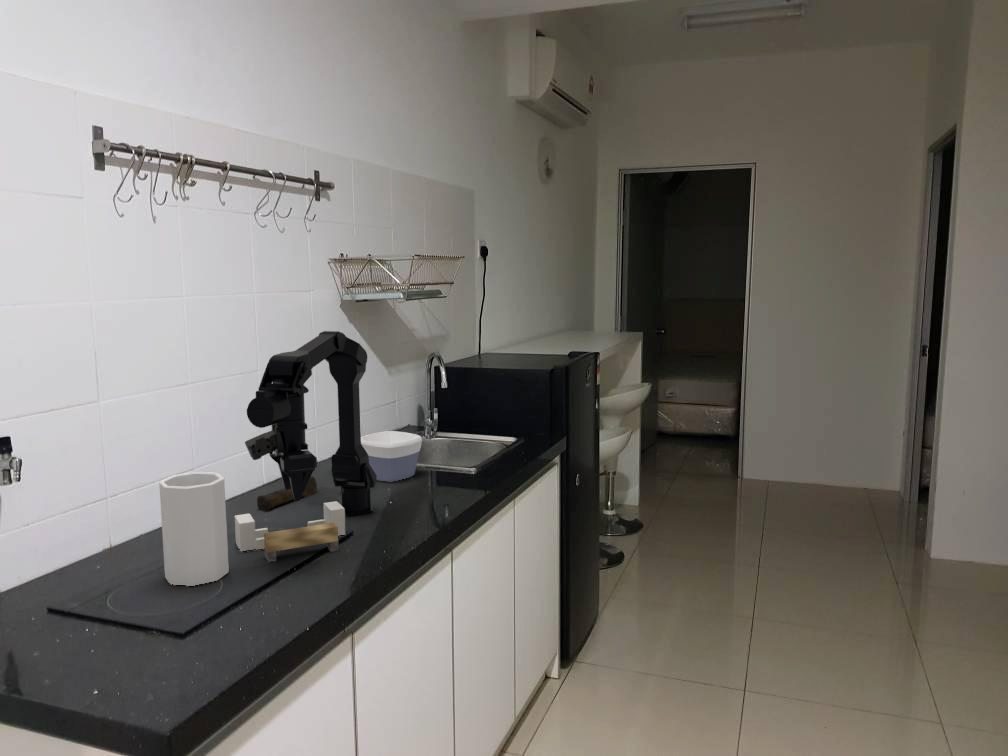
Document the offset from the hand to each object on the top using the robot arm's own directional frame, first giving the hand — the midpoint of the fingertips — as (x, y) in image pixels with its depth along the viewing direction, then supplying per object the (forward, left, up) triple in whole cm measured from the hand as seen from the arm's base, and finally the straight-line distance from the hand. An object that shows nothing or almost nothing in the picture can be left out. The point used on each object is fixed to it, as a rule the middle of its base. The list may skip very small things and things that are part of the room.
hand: (292, 494), depth 154 cm
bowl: (-37, -46, -12) cm, 60 cm away
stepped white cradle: (-1, -8, -12) cm, 14 cm away
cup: (+19, +4, -12) cm, 23 cm away
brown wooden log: (-7, -36, -12) cm, 39 cm away
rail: (-1, +2, -12) cm, 12 cm away
